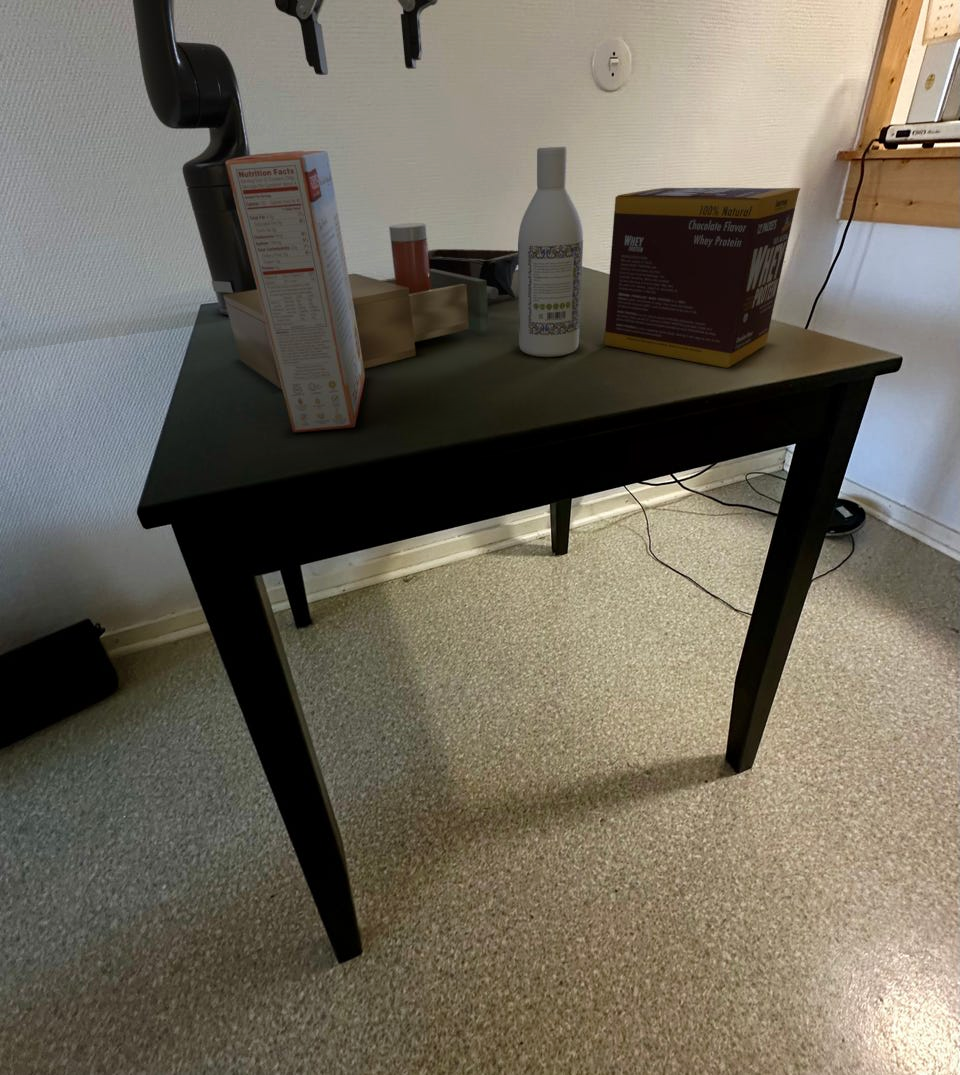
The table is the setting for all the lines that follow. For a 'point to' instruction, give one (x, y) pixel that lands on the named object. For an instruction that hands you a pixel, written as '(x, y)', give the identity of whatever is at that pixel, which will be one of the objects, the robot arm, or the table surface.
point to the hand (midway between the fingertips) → (365, 71)
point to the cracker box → (302, 283)
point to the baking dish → (478, 265)
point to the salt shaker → (411, 256)
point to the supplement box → (697, 270)
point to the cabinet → (376, 316)
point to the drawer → (449, 305)
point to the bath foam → (550, 263)
